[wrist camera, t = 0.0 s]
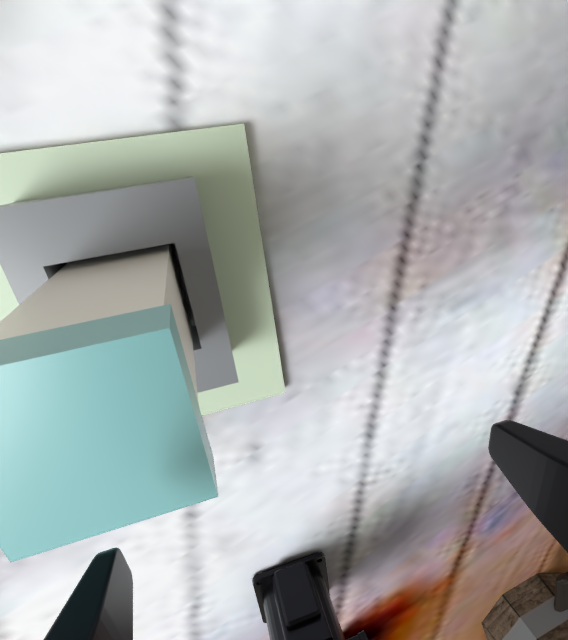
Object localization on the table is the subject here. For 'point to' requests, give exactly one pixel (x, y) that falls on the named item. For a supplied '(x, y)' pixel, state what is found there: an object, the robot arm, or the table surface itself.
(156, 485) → the plug
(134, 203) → the grey hollow block
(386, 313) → the table surface
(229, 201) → the board
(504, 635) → the mug
